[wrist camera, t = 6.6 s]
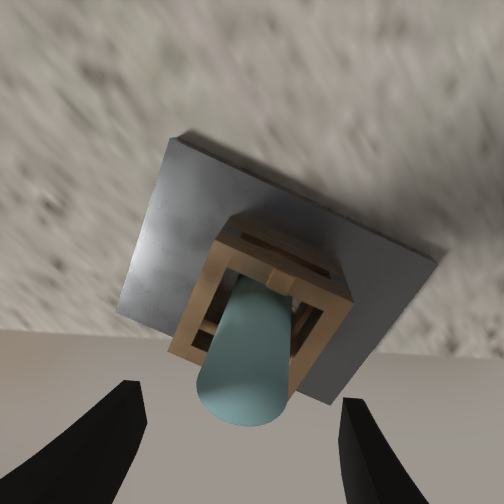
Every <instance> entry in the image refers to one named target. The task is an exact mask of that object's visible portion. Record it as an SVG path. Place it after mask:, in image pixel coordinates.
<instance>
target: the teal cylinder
mask: <svg viewBox="0 0 504 504" xmlns="http://www.w3.org/2000/svg"><path fill="white" fill-rule="evenodd" d="M291 316H292V296H289V295H287V294H286V296H285V295H282V294H280V293H278V292H276V291H273V290H271V289H269V288H267V287H266V285H265V284H263V283H261V282H258V281H256V280H254V279H252V278H249V277H247V276H245V275H243V274H241V275H240V276H239V277H238V279H237V281H236V284H235V286H234V289H233V291H232V294H231V296H230V299H229V301H228V303H227V306H226V308H225V311H224V313H223V316H222V318H221V321H220V323H219V326H218V328H217V330H216V333H215V335H214V338H213V340H212V343H211V345H210V348H209V350H208V353H207V355H206V357H205V360H204V362H203V365H202V368H201V370H200V372H199V375H198V378H197V393H198V396H199V398H200V400H201V402H202V403H203V405H204V406H205V407H206V409H207V410H208V411H210V412H211V413H212V414H213V415H214V416H216V417H218V418H219V419H221V420H223V421H225V422H228V423H230V424H234V425H239V426H247V427H248V426H259V425H264V424H266V423H269V422H271V421H273V420H274V419H275V418H277V417H278V416H279V415H280V414H281V413H282V412H283V410H284V409H285V407H286V404H287V401H288V385H289V362H290V339H291Z"/></svg>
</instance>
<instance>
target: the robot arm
mask: <svg viewBox="0 0 504 504" xmlns="http://www.w3.org/2000/svg"><path fill="white" fill-rule="evenodd" d="M146 426H147V418H146V413H145V407H144V401H143V396H142V391H141V386H140V382H139V381H129V380H124V381H122V382H121V383H120V384H119V385H118V386H116V387H115V388H114V389H113V390H112V391H111V392H110V393H108V394H107V395H106V396H105V397H104V398H103V399H102V400H100V401H99V402H98V403H97V404H96V405H95V406H94V407H92V408H91V409H90V410H89V411H88V412H87V413H85V414H84V415H83V416H82V417H81V418H80V419H78V420H77V421H76V422H75V423H74V424H73V425H71V426H70V427H69V428H68V429H67V430H65V431H64V432H63V433H62V434H60V435H59V436H58V437H56V438H55V439H54V440H53V441H52V442H50V443H49V444H48V445H47V446H45V447H44V448H43V449H41V450H40V451H39V452H38V453H36V454H35V455H34V456H32V457H31V458H30V459H28V460H27V461H25V462H24V463H23V464H22V465H20V466H18V467H17V468H16V469H14V470H13V471H11V472H10V473H8V474H7V475H6V476H4V477H3V478H1V479H0V504H112V503H113V501H114V499H115V496H116V495H117V492H118V490H119V488H120V486H121V484H122V482H123V480H124V478H125V476H126V474H127V472H128V470H129V467H130V466H131V464H132V462H133V460H134V458H135V455H136V453H137V451H138V448H139V445H140V442H141V440H142V437H143V434H144V431H145V428H146ZM338 444H339V455H340V465H341V475H342V480H343V485H344V491H345V496H346V501H347V504H429V503H428V501H427V500H426V499H425V498H424V496H423V495H422V493H421V492H420V490H419V489H418V488H417V486H416V485H415V483H414V482H413V481H412V479H411V478H410V476H409V475H408V473H407V472H406V470H405V469H404V467H403V466H402V464H401V463H400V461H399V459H398V458H397V456H396V455H395V453H394V452H393V450H392V449H391V447H390V446H389V444H388V442H387V441H386V439H385V437H384V436H383V434H382V432H381V430H380V429H379V427H378V425H377V424H376V422H375V420H374V418H373V416H372V414H371V413H370V411H369V409H368V407H367V405H366V403H365V402H364V400H363V399H358V398H345V397H343V404H342V413H341V421H340V429H339V438H338Z"/></svg>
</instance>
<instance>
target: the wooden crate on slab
mask: <svg viewBox="0 0 504 504" xmlns="http://www.w3.org/2000/svg"><path fill="white" fill-rule="evenodd" d="M437 265H438V263H437V262H436V261H435V260H434V259H433V258H432V257H430V256H428V255H426V254H424V253H421V252H419V251H417V250H415V249H413V248H411V247H409V246H407V245H404V244H402V243H400V242H398V241H396V240H394V239H392V238H390V237H387V236H385V235H383V234H381V233H379V232H377V231H375V230H373V229H370V228H368V227H366V226H364V225H362V224H360V223H358V222H356V221H353V220H351V219H349V218H347V217H345V216H343V215H341V214H339V213H336V212H334V211H332V210H330V209H328V208H326V207H324V206H322V205H319V204H317V203H315V202H313V201H311V200H309V199H307V198H305V197H302V196H300V195H298V194H296V193H294V192H292V191H290V190H288V189H285V188H283V187H281V186H279V185H277V184H275V183H273V182H271V181H268V180H266V179H264V178H262V177H260V176H258V175H256V174H254V173H251V172H249V171H247V170H245V169H243V168H241V167H239V166H237V165H234V164H232V163H230V162H228V161H226V160H224V159H222V158H220V157H217V156H215V155H213V154H211V153H209V152H207V151H205V150H203V149H200V148H198V147H196V146H194V145H192V144H190V143H188V142H186V141H183V140H181V139H179V138H177V137H174V138H170V140H169V143H168V146H167V149H166V152H165V156H164V159H163V162H162V165H161V168H160V171H159V175H158V178H157V181H156V184H155V187H154V191H153V194H152V197H151V200H150V203H149V207H148V210H147V213H146V216H145V219H144V223H143V226H142V229H141V232H140V235H139V238H138V242H137V245H136V248H135V251H134V254H133V258H132V261H131V264H130V267H129V270H128V274H127V277H126V280H125V283H124V286H123V289H122V293H121V296H120V299H119V302H118V305H117V309H116V313H119V314H121V315H123V316H126V317H128V318H130V319H132V320H135V321H137V322H139V323H142V324H144V325H146V326H149V327H151V328H153V329H155V330H158V331H160V332H162V333H165V334H167V335H169V336H172V337H173V339H172V342H171V344H170V347H169V349H168V352H170V353H172V354H174V355H176V356H179V357H181V358H183V359H186V360H188V361H191V362H193V363H195V364H197V365H200V366H202V365H203V362H204V360H205V357H206V355H207V353H208V350H209V348H210V345H211V343H212V340H213V338H214V335H215V333H216V330H217V328H218V326H219V323H220V321H221V318H222V316H223V313H224V311H225V308H226V306H227V303H228V301H229V299H230V296H231V294H232V291H233V289H234V286H235V284H236V281H237V279H238V277H239V276H240V275H241V274H243V275H245V276H247V277H249V278H252V279H254V280H256V281H258V282H261V283H263V284H265V285H266V287H267V288H269V289H271V290H273V291H276V292H278V293H280V294H282V295H285V296H286V294H287V295H289V296H292V316H291V339H290V362H289V385H288V400H289V399H290V398H291V396H292V395H293V393H294V392H295V390H296V391H298V392H300V393H302V394H305V395H307V396H309V397H312V398H314V399H316V400H319V401H321V402H323V403H326V404H328V405H331V404H332V403H333V401H334V400H335V398H336V397H337V396H338V395H339V393H340V392H341V391H342V390H343V388H344V387H345V386H346V384H347V383H348V382H349V380H350V379H351V378H352V377H353V375H354V374H355V373H356V371H357V370H358V369H359V367H360V366H361V365H362V363H363V362H364V361H365V360H366V358H367V357H368V355H369V354H370V353H371V352H372V350H373V349H374V348H375V346H376V345H377V344H378V342H379V341H380V340H381V339H382V337H383V336H384V335H385V333H386V332H387V331H388V329H389V328H390V327H391V325H392V324H393V323H394V322H395V320H396V319H397V318H398V316H399V315H400V314H401V312H402V311H403V310H404V308H405V307H406V306H407V305H408V303H409V302H410V301H411V299H412V298H413V297H414V295H415V294H416V293H417V291H418V290H419V289H420V288H421V286H422V285H423V284H424V282H425V281H426V280H427V278H428V277H429V276H430V274H431V273H432V272H433V271H434V269H435V268H436V267H437ZM287 402H288V401H287Z"/></svg>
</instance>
